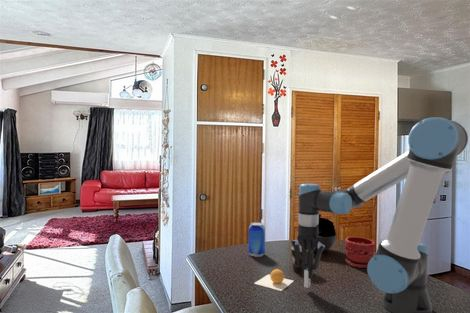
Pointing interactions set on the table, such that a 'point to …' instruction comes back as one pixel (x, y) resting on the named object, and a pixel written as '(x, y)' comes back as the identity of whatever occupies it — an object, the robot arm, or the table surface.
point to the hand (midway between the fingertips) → (307, 286)
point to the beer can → (256, 239)
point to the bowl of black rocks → (326, 233)
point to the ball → (277, 276)
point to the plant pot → (359, 251)
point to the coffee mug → (295, 267)
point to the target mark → (269, 283)
